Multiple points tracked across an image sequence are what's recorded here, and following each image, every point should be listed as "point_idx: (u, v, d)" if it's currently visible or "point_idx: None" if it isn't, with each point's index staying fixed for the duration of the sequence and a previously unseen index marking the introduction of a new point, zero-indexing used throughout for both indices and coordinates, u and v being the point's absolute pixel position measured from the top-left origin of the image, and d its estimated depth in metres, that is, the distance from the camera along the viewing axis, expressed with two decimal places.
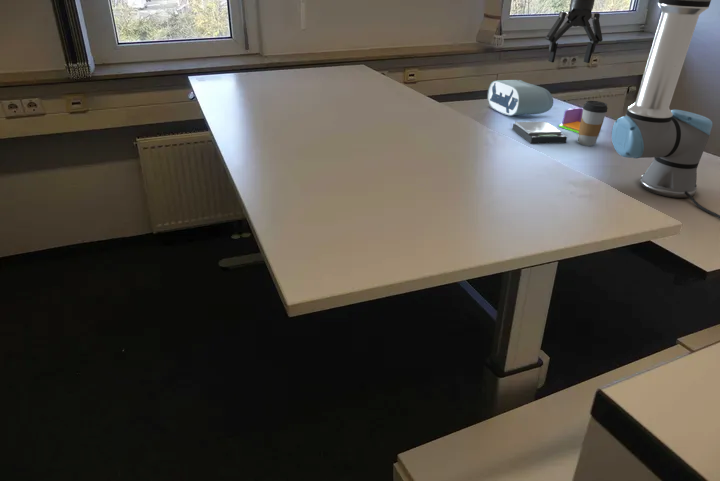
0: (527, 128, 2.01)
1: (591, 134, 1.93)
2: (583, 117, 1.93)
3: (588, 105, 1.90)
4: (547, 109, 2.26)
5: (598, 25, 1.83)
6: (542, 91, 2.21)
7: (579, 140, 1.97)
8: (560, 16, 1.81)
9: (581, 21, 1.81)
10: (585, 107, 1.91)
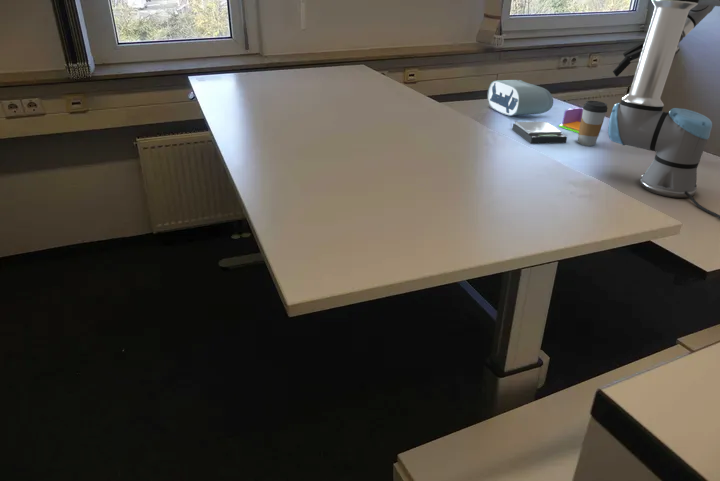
0: (527, 128, 2.01)
1: (591, 134, 1.93)
2: (583, 117, 1.93)
3: (588, 105, 1.90)
4: (547, 109, 2.26)
5: None
6: (542, 91, 2.21)
7: (579, 140, 1.97)
8: None
9: None
10: (585, 107, 1.91)
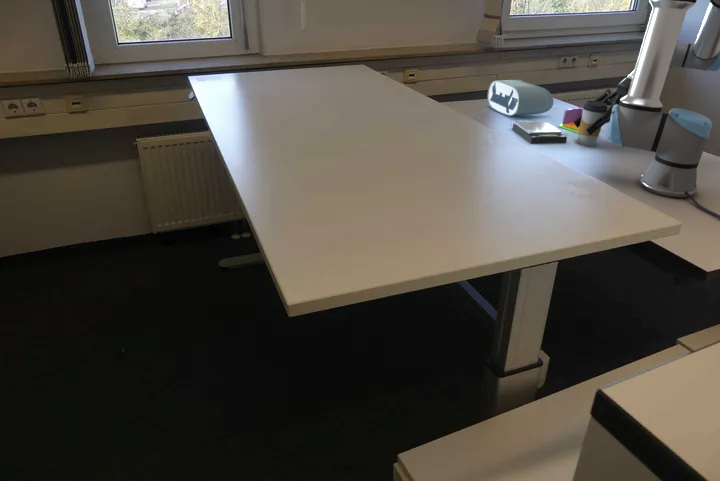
0: (527, 128, 2.01)
1: (591, 134, 1.93)
2: (583, 117, 1.93)
3: (588, 105, 1.90)
4: (547, 109, 2.26)
5: None
6: (542, 91, 2.21)
7: (579, 140, 1.97)
8: None
9: (616, 97, 1.90)
10: (585, 107, 1.91)
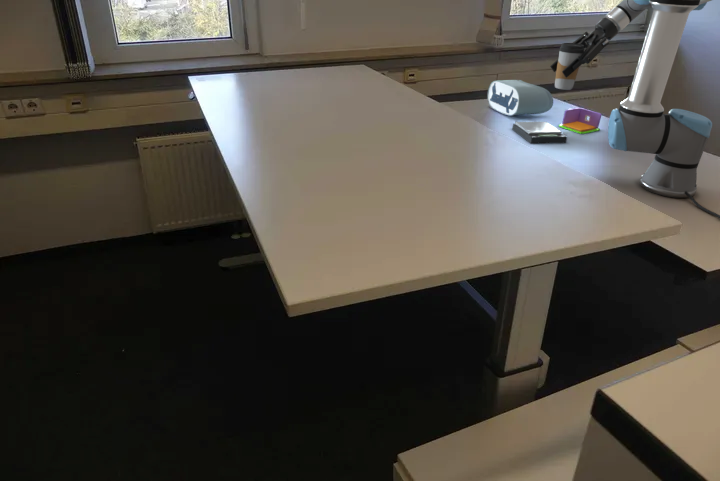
0: (527, 128, 2.01)
1: (567, 77, 1.88)
2: (559, 59, 1.87)
3: (564, 46, 1.84)
4: (547, 109, 2.26)
5: (596, 46, 1.80)
6: (542, 91, 2.21)
7: (556, 84, 1.91)
8: None
9: None
10: (561, 48, 1.85)
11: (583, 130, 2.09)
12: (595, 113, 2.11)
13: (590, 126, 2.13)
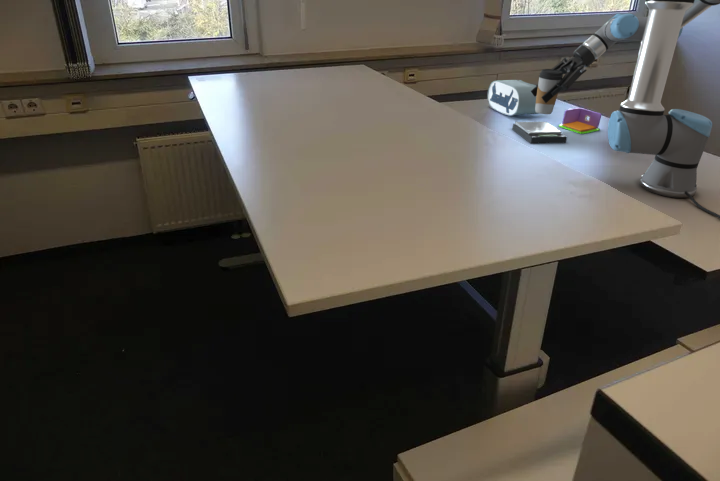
0: (527, 128, 2.01)
1: (547, 102, 1.94)
2: (539, 85, 1.94)
3: (543, 73, 1.90)
4: None
5: (573, 73, 1.87)
6: None
7: (536, 109, 1.98)
8: None
9: (571, 65, 1.91)
10: (540, 75, 1.92)
11: (583, 130, 2.09)
12: (595, 113, 2.11)
13: (590, 126, 2.13)
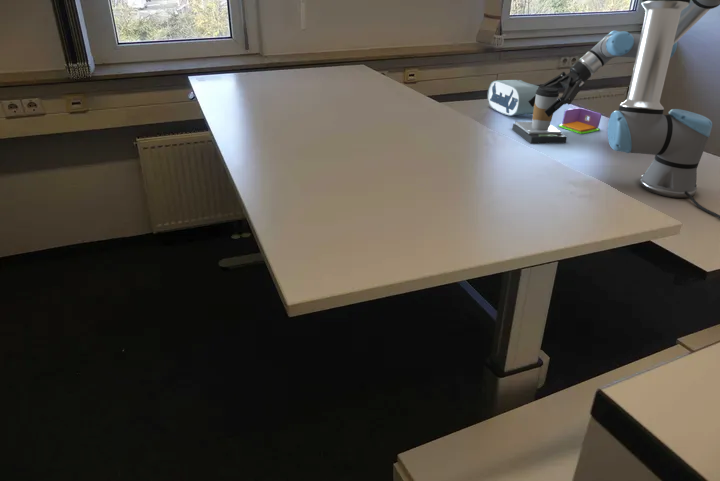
0: (527, 128, 2.01)
1: (543, 119, 1.97)
2: (536, 102, 1.97)
3: (540, 90, 1.93)
4: None
5: (573, 87, 1.88)
6: None
7: (533, 125, 2.01)
8: None
9: (567, 81, 1.94)
10: (537, 92, 1.95)
11: (583, 130, 2.09)
12: (595, 113, 2.11)
13: (590, 126, 2.13)
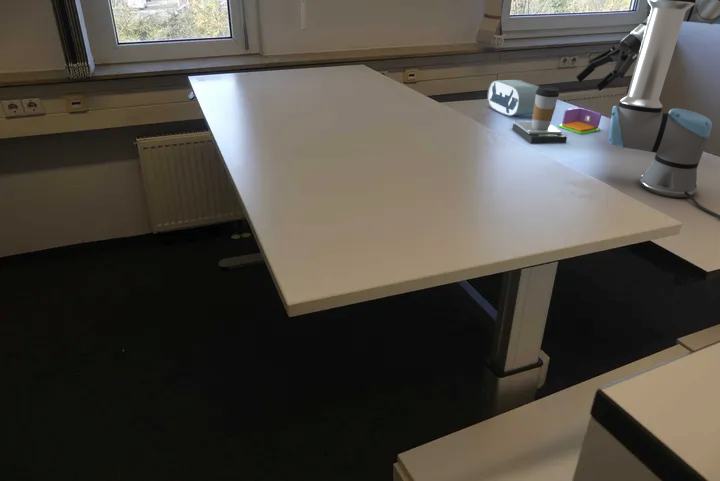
0: (527, 128, 2.01)
1: (543, 119, 1.97)
2: (536, 102, 1.97)
3: (540, 90, 1.93)
4: None
5: (626, 60, 1.84)
6: None
7: (533, 125, 2.01)
8: None
9: (619, 54, 1.89)
10: (537, 92, 1.95)
11: (583, 130, 2.09)
12: (595, 113, 2.11)
13: (590, 126, 2.13)
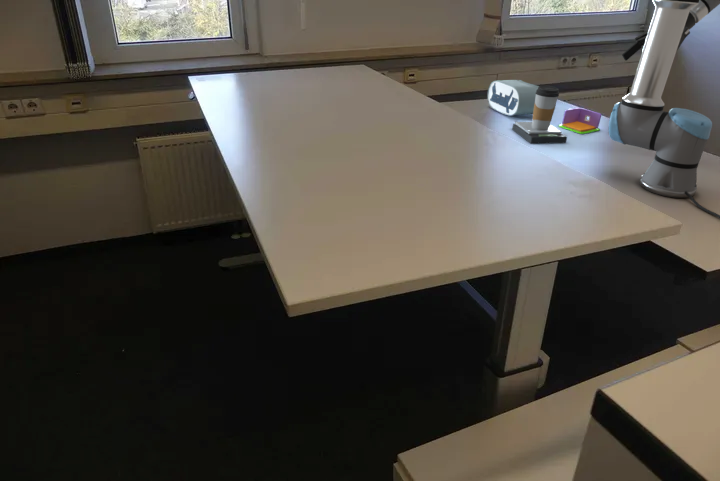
0: (527, 128, 2.01)
1: (543, 119, 1.97)
2: (536, 102, 1.97)
3: (540, 90, 1.93)
4: None
5: None
6: None
7: (533, 125, 2.01)
8: None
9: None
10: (537, 92, 1.95)
11: (583, 130, 2.09)
12: (595, 113, 2.11)
13: (590, 126, 2.13)
